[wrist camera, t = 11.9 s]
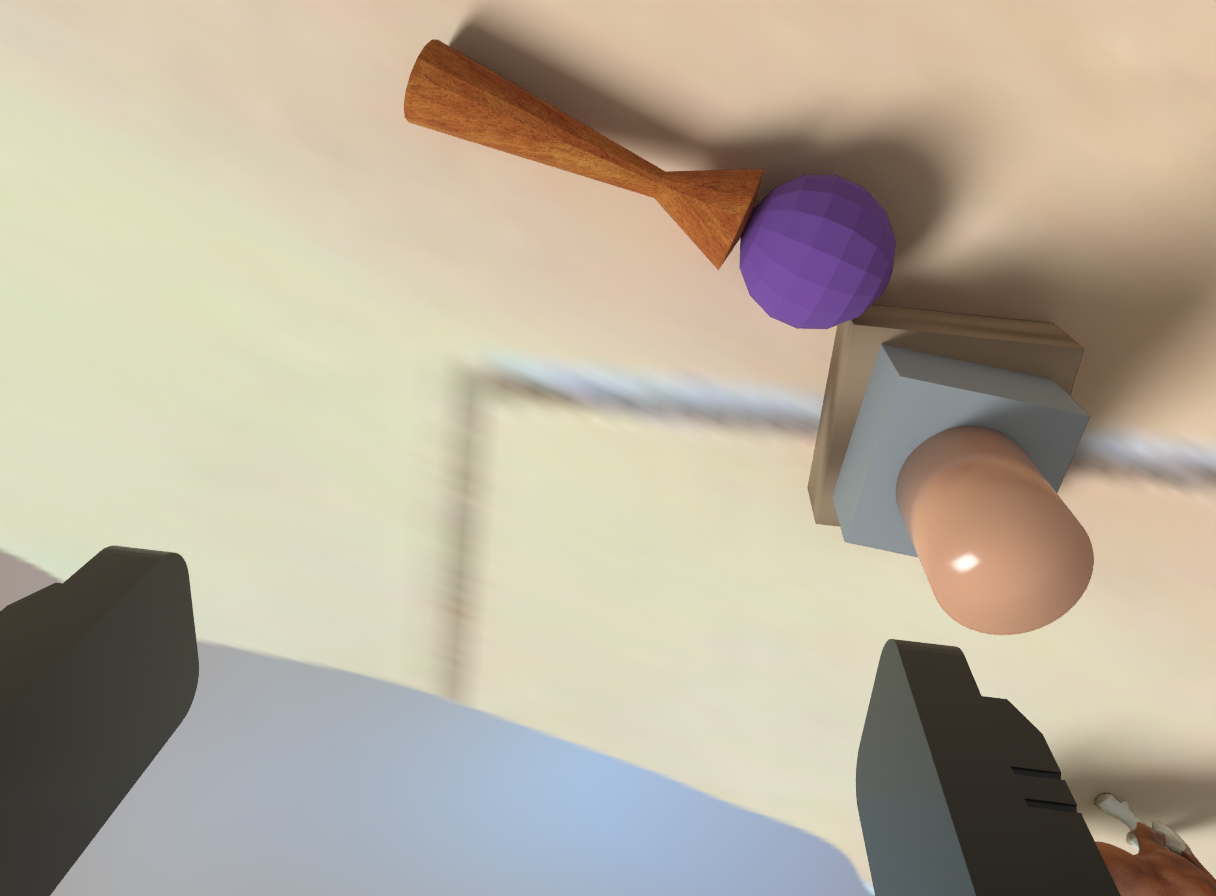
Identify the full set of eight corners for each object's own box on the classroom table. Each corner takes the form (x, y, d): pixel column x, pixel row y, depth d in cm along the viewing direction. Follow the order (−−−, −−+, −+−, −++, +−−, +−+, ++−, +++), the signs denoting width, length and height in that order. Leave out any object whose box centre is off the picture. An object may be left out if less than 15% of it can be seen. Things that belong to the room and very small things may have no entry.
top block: (880, 343, 38) (900, 376, 34) (1052, 379, 38) (1090, 415, 34) (831, 496, 41) (844, 542, 37) (991, 530, 41) (1020, 578, 37)
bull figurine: (924, 770, 51) (962, 896, 43) (1186, 795, 50) (1271, 929, 42) (910, 832, 52) (945, 964, 45) (1163, 857, 52) (1241, 996, 44)
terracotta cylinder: (912, 417, 35) (952, 489, 30) (1049, 435, 35) (1115, 510, 29) (882, 536, 37) (914, 623, 32) (1012, 554, 37) (1066, 644, 31)
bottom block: (840, 299, 42) (853, 324, 38) (1050, 320, 41) (1084, 348, 37) (806, 484, 45) (815, 523, 42) (998, 505, 45) (1025, 547, 41)
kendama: (428, -15, 34) (938, 208, 34) (467, 24, 40) (904, 214, 40) (372, 145, 36) (864, 360, 36) (418, 160, 41) (840, 344, 41)
